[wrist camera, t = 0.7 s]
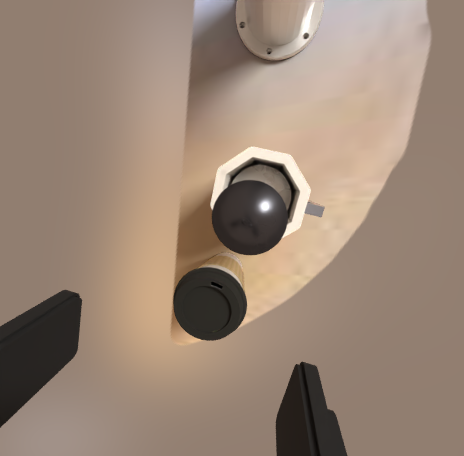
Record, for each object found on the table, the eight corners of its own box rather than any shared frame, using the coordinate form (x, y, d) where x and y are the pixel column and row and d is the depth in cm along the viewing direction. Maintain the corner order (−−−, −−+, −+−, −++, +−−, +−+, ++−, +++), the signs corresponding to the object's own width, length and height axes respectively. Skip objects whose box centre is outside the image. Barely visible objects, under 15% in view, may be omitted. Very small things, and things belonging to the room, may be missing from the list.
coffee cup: (192, 280, 47) (158, 325, 32) (210, 234, 44) (183, 259, 30) (240, 302, 46) (227, 357, 32) (261, 256, 44) (258, 292, 29)
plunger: (237, 159, 29) (190, 124, 11) (297, 173, 29) (349, 158, 11) (224, 218, 31) (165, 268, 13) (281, 232, 30) (303, 306, 12)
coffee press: (238, 153, 41) (221, 136, 26) (313, 170, 40) (343, 163, 25) (225, 214, 43) (201, 233, 28) (295, 232, 42) (312, 261, 27)
